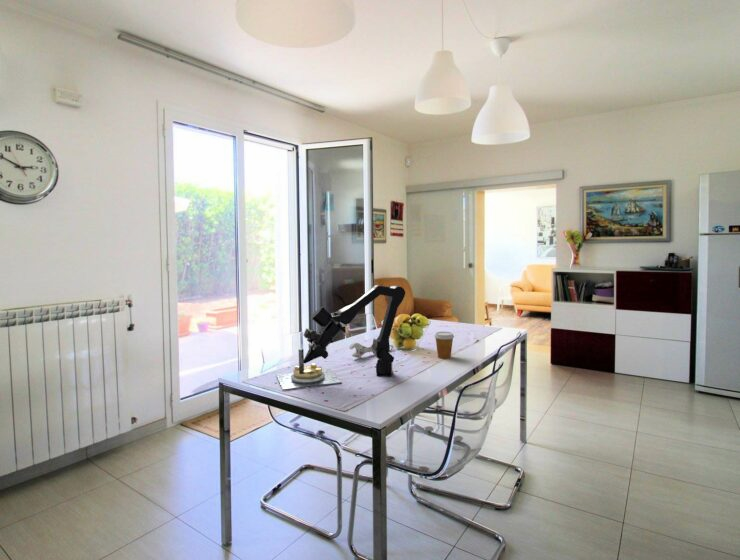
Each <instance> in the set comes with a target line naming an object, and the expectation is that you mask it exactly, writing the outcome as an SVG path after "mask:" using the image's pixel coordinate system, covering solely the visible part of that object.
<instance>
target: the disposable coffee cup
mask: <svg viewBox="0 0 740 560" xmlns="http://www.w3.org/2000/svg"><path fill="white" fill-rule="evenodd" d="M454 337H455V335H454V333H453V332H451V331H437V332H435V335H434V339H435V344H436V345H435V346H436V351H437V357H438V358H439V359H450V358H451V357H452V349H453V342H454V341H453V340H454Z"/></svg>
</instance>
